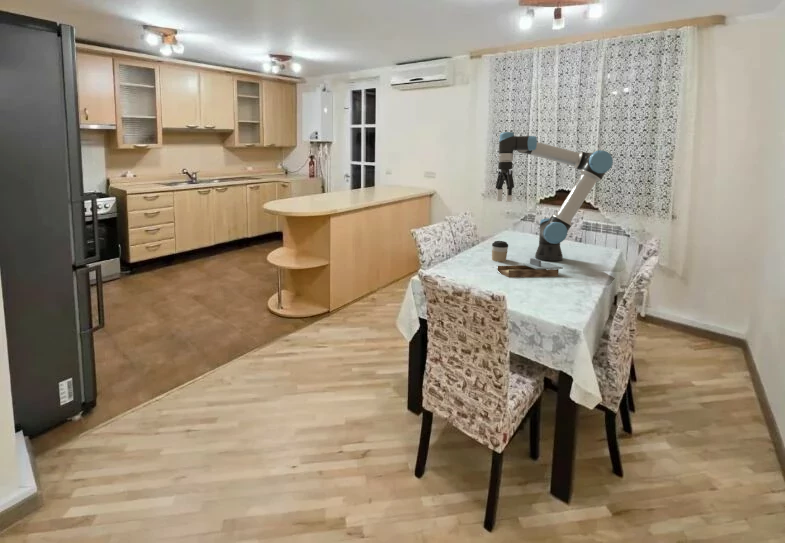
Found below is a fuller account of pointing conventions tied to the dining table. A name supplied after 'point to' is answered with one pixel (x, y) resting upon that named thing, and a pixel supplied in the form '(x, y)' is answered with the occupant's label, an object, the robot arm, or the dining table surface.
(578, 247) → the dining table surface
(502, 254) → the coffee cup
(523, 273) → the wooden tray
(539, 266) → the lid
